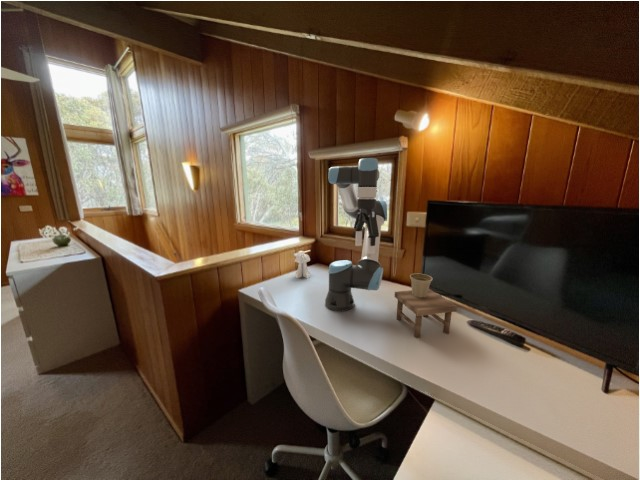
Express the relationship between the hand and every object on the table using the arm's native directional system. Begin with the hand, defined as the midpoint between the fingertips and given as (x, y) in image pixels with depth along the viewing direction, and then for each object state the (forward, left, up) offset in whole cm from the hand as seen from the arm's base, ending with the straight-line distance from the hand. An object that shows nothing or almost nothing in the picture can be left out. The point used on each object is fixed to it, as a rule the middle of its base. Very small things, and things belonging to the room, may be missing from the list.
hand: (364, 249), depth 103 cm
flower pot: (+4, +26, -22) cm, 34 cm away
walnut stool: (+7, +26, -35) cm, 44 cm away
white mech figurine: (-67, -16, -35) cm, 77 cm away
